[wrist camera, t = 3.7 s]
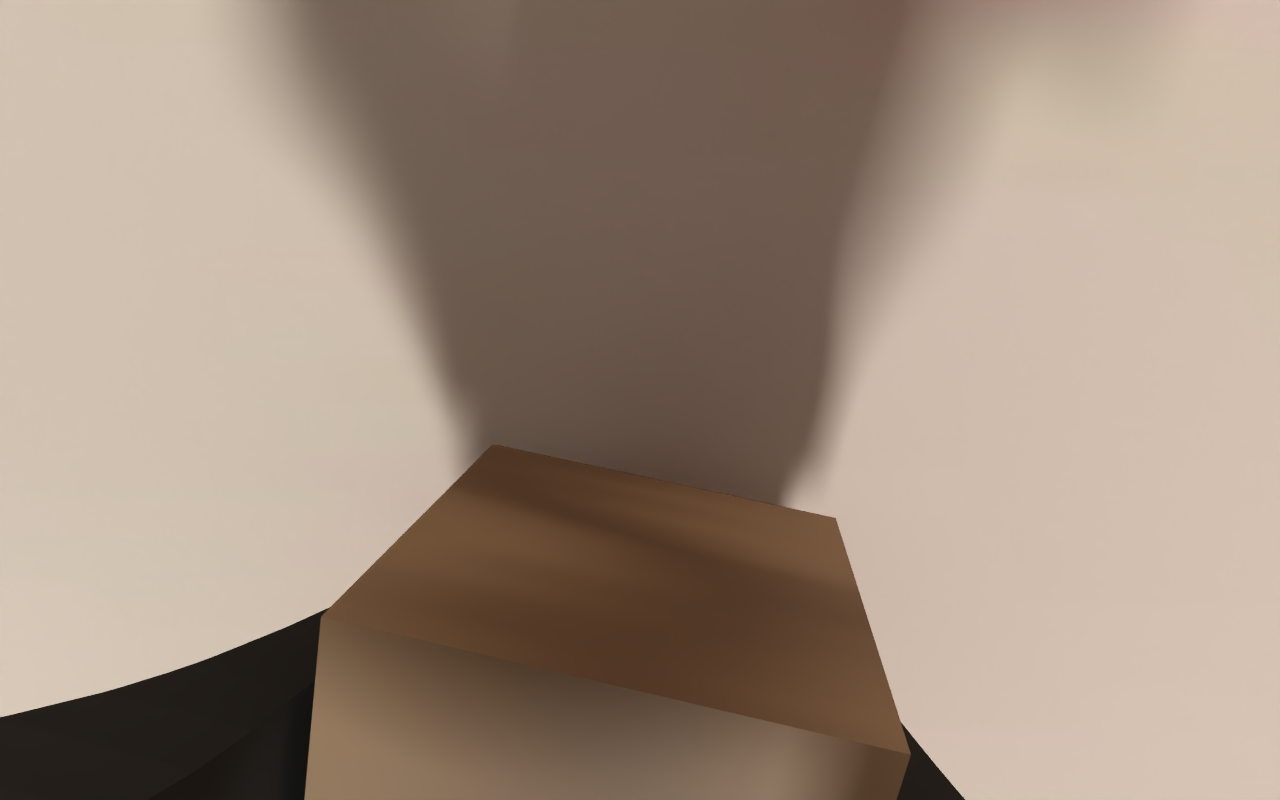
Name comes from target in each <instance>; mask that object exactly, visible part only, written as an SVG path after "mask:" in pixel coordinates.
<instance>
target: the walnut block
mask: <svg viewBox="0 0 1280 800" xmlns="http://www.w3.org/2000/svg"><path fill="white" fill-rule="evenodd" d="M910 756H911V753H910V750H909V747H908V744H907V741H906V737H905V734H904V731H903V728H902V725H901V722H900V719H899V716H898V712H897V709H896V706H895V703H894V700H893V697H892V694H891V690H890V687H889V684H888V681H887V678H886V675H885V672H884V669H883V665H882V662H881V659H880V656H879V653H878V650H877V647H876V643H875V640H874V637H873V634H872V631H871V628H870V625H869V622H868V618H867V615H866V612H865V609H864V606H863V603H862V600H861V596H860V593H859V590H858V587H857V584H856V581H855V578H854V574H853V571H852V568H851V565H850V562H849V559H848V556H847V553H846V549H845V546H844V543H843V540H842V537H841V534H840V531H839V527H838V524H837V521H836V518H832V517H828V516H823V515H819V514H814V513H809V512H805V511H800V510H795V509H791V508H786V507H781V506H777V505H772V504H768V503H763V502H758V501H754V500H749V499H744V498H740V497H735V496H730V495H726V494H721V493H717V492H712V491H707V490H703V489H698V488H693V487H689V486H684V485H679V484H675V483H670V482H666V481H661V480H656V479H652V478H647V477H642V476H638V475H633V474H628V473H624V472H619V471H615V470H610V469H605V468H601V467H596V466H591V465H587V464H582V463H577V462H573V461H568V460H564V459H559V458H554V457H550V456H545V455H540V454H536V453H531V452H526V451H522V450H517V449H513V448H508V447H503V446H499V445H494V444H493V445H492V446H491V447H490V448H489V449H488V450H487V451H486V452H485V453H484V454H483V455H482V456H481V457H480V458H479V459H478V460H477V461H476V462H475V463H474V464H473V465H472V466H471V467H470V468H469V469H468V470H467V471H466V472H465V473H464V474H463V475H462V476H461V477H460V478H459V479H458V480H457V481H456V482H455V483H454V484H453V485H452V486H451V487H450V488H449V489H448V490H447V491H446V492H445V493H444V494H443V495H442V496H441V497H440V498H439V499H438V500H437V501H436V502H435V503H434V504H433V505H432V506H431V507H430V508H429V509H428V510H427V511H426V512H425V513H424V514H423V515H422V516H421V517H420V518H419V519H418V520H417V521H416V522H415V523H414V524H413V525H412V526H411V527H410V528H409V529H408V530H407V531H406V532H405V533H404V534H403V535H402V536H401V537H400V538H399V539H398V540H397V541H396V542H395V543H394V544H393V545H392V546H391V547H390V548H389V549H388V550H387V551H386V552H385V553H384V554H383V555H382V556H381V557H380V558H379V559H378V560H377V561H376V562H375V563H374V564H373V565H372V566H371V567H370V568H369V569H368V570H367V571H366V572H365V573H364V574H363V575H362V576H361V577H360V578H359V579H358V580H357V581H356V582H355V583H354V584H353V585H352V586H351V587H350V588H349V589H348V590H347V591H346V592H345V593H344V594H343V595H342V596H341V597H340V598H339V599H338V600H337V601H336V602H335V603H334V604H333V605H332V606H331V607H330V608H329V609H328V610H327V611H326V612H325V613H324V614H323V615H322V616H321V622H320V633H319V644H318V655H317V666H316V677H315V688H314V699H313V710H312V721H311V733H310V744H309V755H308V766H307V777H306V788H305V799H304V800H897V796H898V793H899V790H900V787H901V784H902V781H903V778H904V775H905V772H906V768H907V765H908V762H909V759H910Z"/></svg>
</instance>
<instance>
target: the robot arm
mask: <svg viewBox="0 0 1280 800" xmlns="http://www.w3.org/2000/svg"><path fill="white" fill-rule="evenodd" d="M328 609H329V608H328ZM328 609H325V610H323V611H321V612H319V613H317V614H314V615H312V616H310V617H308V618H306V619H303V620H301V621H299V622H297V623H295V624H293V625H290V626H288V627H286V628H283V629H281V630H278V631H276V632H274V633H271V634H269V635H266V636H264V637H261V638H259V639H256V640H254V641H251V642H249V643H246V644H244V645H241V646H239V647H237V648H234V649H232V650H229V651H227V652H224V653H222V654H219V655H217V656H214V657H212V658H209V659H206V660H203V661H201V662H198V663H195V664H192V665H189V666H186V667H184V668H181V669H178V670H175V671H172V672H169V673H166V674H162V675H159V676H156V677H153V678H150V679H146V680H143V681H140V682H137V683H134V684H130V685H127V686H124V687H120V688H117V689H113V690H110V691H106V692H103V693H99V694H95V695H91V696H87V697H83V698H79V699H74V700H70V701H66V702H62V703H58V704H54V705H50V706H46V707H42V708H38V709H34V710H30V711H26V712H22V713H17V714H13V715H9V716H5V717H0V800H304V799H305V788H306V777H307V766H308V755H309V744H310V733H311V721H312V710H313V699H314V688H315V677H316V666H317V655H318V644H319V633H320V622H321V616H322V615H323V614H324V613H325V612H326V611H327V610H328ZM901 725H902V728H903V731H904V734H905V737H906V741H907V744H908V747H909V750H910V753H911V756H910V759H909V762H908V765H907V768H906V772H905V775H904V778H903V781H902V784H901V787H900V790H899V793H898V796H897V800H965V799H964V798H963V797H962V796H961V794H960V793H959V792H958V791H957V790H956V789H955V787H954V786H953V785H952V784H951V783H950V782H949V780H948V779H947V778H946V777H945V776H944V774H943V773H942V772H941V771H940V770H939V768H938V767H937V766H936V765H935V764H934V762H933V761H932V760H931V759H930V758H929V756H928V755H927V754H926V753H925V752H924V750H923V749H922V748H921V747H920V745H919V744H918V743H917V742H916V740H915V739H914V738H913V737H912V735H911V734H910V733H909V732H908V730H907V729H906V728H905V727H904V725H903V724H902V723H901Z"/></svg>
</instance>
